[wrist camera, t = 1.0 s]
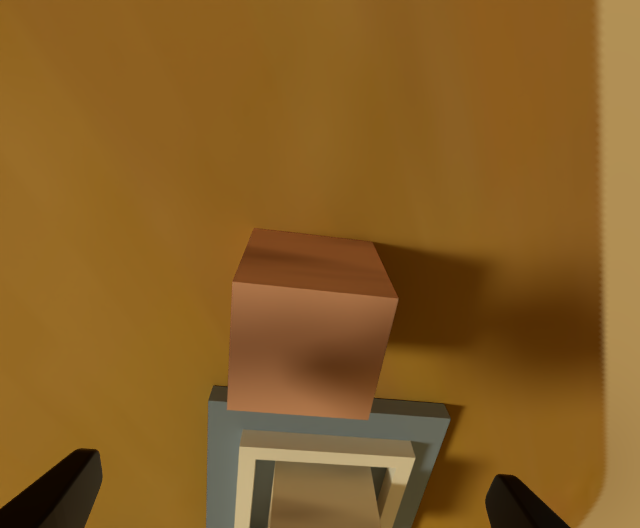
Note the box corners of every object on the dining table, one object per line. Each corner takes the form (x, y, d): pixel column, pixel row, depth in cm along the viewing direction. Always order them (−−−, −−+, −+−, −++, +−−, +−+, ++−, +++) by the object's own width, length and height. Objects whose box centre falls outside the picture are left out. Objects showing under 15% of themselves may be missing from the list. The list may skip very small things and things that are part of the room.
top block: (352, 337, 18) (368, 420, 13) (247, 328, 17) (226, 409, 13) (371, 241, 16) (398, 298, 11) (254, 227, 15) (232, 281, 11)
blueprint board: (395, 542, 24) (402, 578, 23) (209, 534, 23) (201, 571, 22) (444, 403, 20) (458, 435, 18) (213, 385, 19) (202, 416, 17)
